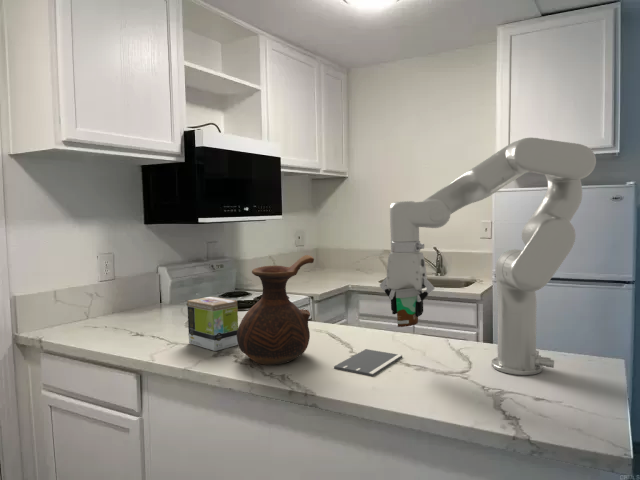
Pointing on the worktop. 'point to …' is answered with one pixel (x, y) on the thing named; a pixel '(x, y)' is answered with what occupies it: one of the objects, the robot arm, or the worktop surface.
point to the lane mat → (368, 362)
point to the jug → (275, 319)
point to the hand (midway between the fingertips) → (407, 313)
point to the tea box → (213, 322)
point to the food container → (406, 307)
